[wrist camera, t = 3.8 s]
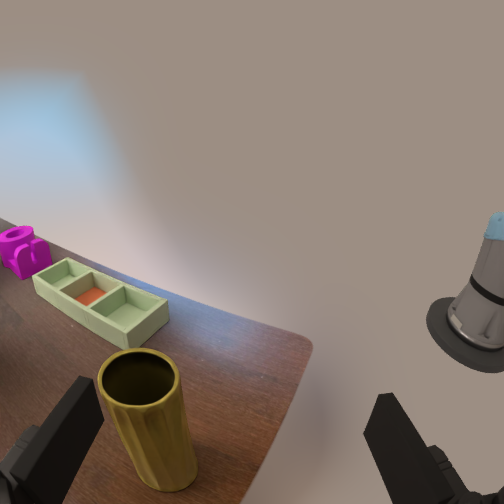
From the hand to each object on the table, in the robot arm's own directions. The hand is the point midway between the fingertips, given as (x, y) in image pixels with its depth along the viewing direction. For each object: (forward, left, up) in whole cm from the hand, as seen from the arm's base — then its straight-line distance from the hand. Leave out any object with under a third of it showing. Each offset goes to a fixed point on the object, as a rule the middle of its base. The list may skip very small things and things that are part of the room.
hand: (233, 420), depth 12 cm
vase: (+5, -5, -17) cm, 18 cm away
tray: (+16, -33, -17) cm, 40 cm away
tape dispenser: (+38, -51, -17) cm, 66 cm away
